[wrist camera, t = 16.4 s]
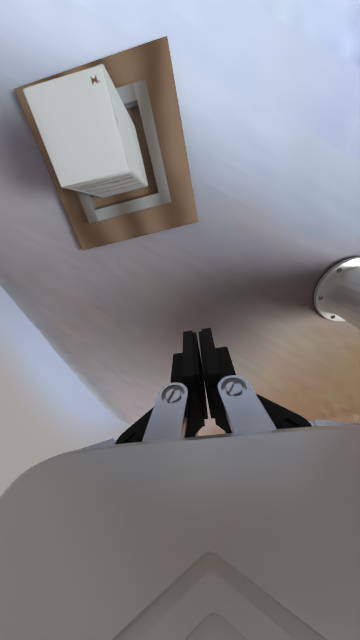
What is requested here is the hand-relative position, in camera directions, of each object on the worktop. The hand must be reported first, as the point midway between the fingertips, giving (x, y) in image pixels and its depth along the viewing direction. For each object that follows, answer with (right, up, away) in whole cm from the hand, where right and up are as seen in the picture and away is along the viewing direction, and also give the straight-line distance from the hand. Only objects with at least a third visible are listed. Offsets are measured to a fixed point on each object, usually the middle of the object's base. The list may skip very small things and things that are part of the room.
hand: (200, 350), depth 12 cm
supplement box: (-10, +24, +17) cm, 31 cm away
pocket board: (-10, +25, +18) cm, 32 cm away
